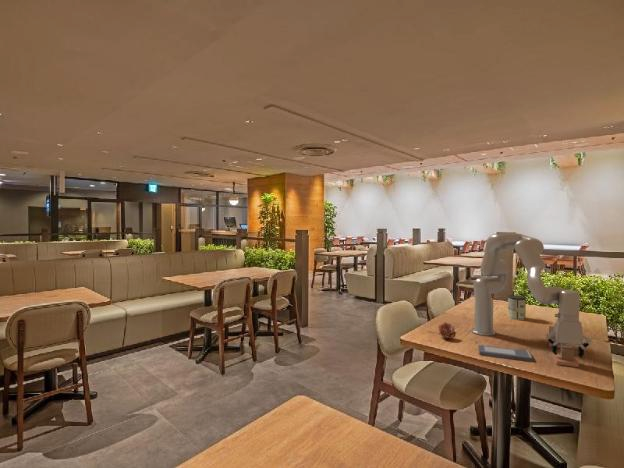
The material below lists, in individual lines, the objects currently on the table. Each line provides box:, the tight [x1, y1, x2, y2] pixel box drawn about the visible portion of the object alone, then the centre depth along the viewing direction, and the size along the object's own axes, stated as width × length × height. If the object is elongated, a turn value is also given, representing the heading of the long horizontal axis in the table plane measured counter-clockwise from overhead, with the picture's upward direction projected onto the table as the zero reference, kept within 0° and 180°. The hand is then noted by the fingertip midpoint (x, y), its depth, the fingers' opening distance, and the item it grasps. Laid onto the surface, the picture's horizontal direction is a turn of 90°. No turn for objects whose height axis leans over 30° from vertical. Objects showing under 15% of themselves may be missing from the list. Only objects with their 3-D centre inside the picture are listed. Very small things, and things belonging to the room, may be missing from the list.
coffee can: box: [507, 294, 527, 321], centre depth 235 cm, size 10×10×14 cm
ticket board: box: [477, 344, 534, 363], centre depth 172 cm, size 10×22×2 cm, turn 68°
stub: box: [551, 345, 580, 368], centre depth 162 cm, size 10×8×6 cm
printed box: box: [548, 326, 566, 349], centre depth 182 cm, size 4×7×10 cm, turn 55°
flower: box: [438, 321, 457, 340], centre depth 195 cm, size 10×9×8 cm
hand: (567, 355), depth 162 cm, fingers open, 9 cm apart
